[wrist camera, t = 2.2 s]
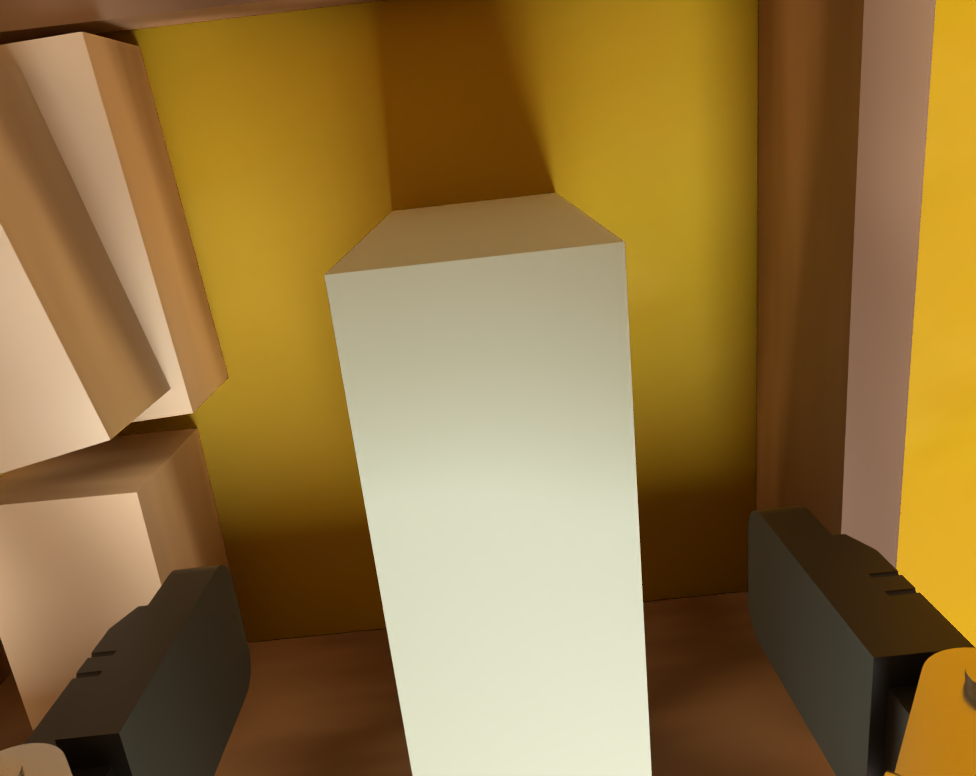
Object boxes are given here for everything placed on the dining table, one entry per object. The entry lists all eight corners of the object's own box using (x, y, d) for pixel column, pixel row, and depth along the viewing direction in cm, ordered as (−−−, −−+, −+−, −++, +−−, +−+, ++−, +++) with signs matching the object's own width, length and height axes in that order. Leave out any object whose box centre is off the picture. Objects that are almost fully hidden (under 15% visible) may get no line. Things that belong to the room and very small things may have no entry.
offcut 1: (144, 47, 18) (82, 31, 15) (232, 373, 20) (193, 413, 17) (-65, 81, 18) (-167, 72, 15) (48, 401, 20) (-21, 445, 18)
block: (555, 192, 19) (624, 241, 10) (583, 552, 22) (653, 821, 13) (392, 210, 19) (324, 275, 10) (443, 566, 22) (424, 843, 13)
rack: (814, -102, 17) (1097, -299, 9) (796, 621, 23) (961, 868, 15) (-272, 26, 17) (-867, -60, 10) (-12, 703, 23) (-251, 985, 15)
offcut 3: (199, 426, 20) (136, 492, 17) (242, 616, 22) (195, 715, 19) (51, 439, 21) (-45, 509, 17) (107, 629, 22) (32, 730, 19)
